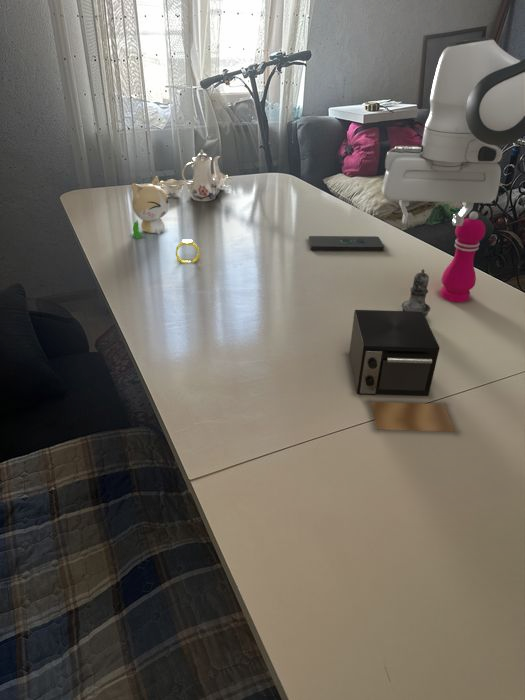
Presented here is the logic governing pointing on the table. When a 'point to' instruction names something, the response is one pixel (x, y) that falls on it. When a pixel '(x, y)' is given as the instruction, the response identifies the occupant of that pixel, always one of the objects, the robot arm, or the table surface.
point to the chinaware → (198, 180)
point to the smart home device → (345, 243)
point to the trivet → (411, 416)
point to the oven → (392, 353)
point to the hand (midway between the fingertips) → (431, 224)
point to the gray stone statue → (418, 295)
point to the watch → (187, 242)
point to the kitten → (149, 207)
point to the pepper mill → (463, 260)
